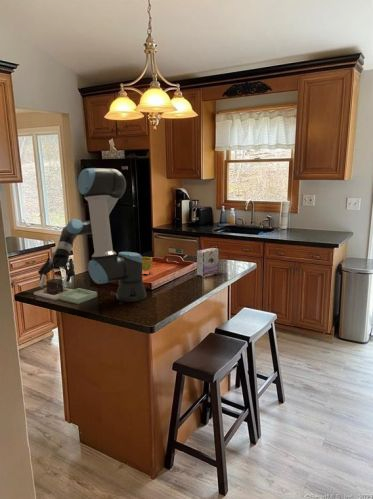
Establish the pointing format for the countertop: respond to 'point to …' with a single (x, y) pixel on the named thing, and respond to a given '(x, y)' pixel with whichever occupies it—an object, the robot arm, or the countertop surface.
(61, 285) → the box
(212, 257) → the candy box
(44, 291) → the socket block
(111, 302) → the countertop surface
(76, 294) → the tray
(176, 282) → the countertop surface
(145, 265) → the plant pot
